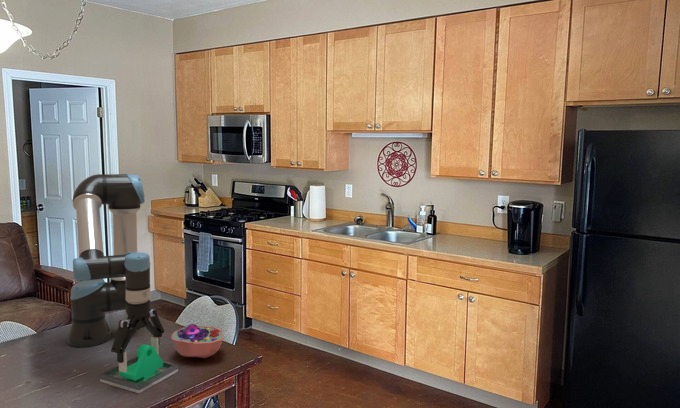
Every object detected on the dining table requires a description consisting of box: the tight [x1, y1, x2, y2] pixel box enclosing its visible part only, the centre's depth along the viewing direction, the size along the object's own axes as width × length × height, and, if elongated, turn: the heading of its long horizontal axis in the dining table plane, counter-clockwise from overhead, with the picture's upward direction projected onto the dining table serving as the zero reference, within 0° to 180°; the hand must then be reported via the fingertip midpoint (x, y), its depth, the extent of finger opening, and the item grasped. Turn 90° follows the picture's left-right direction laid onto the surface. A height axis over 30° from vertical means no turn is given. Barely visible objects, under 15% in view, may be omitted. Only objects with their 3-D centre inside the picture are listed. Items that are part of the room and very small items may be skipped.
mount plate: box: [99, 355, 179, 395], centre depth 164 cm, size 17×17×2 cm
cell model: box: [170, 323, 224, 359], centre depth 181 cm, size 17×20×11 cm
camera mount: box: [119, 343, 164, 381], centre depth 163 cm, size 12×8×10 cm, turn 155°
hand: (139, 363), depth 164 cm, fingers open, 13 cm apart
